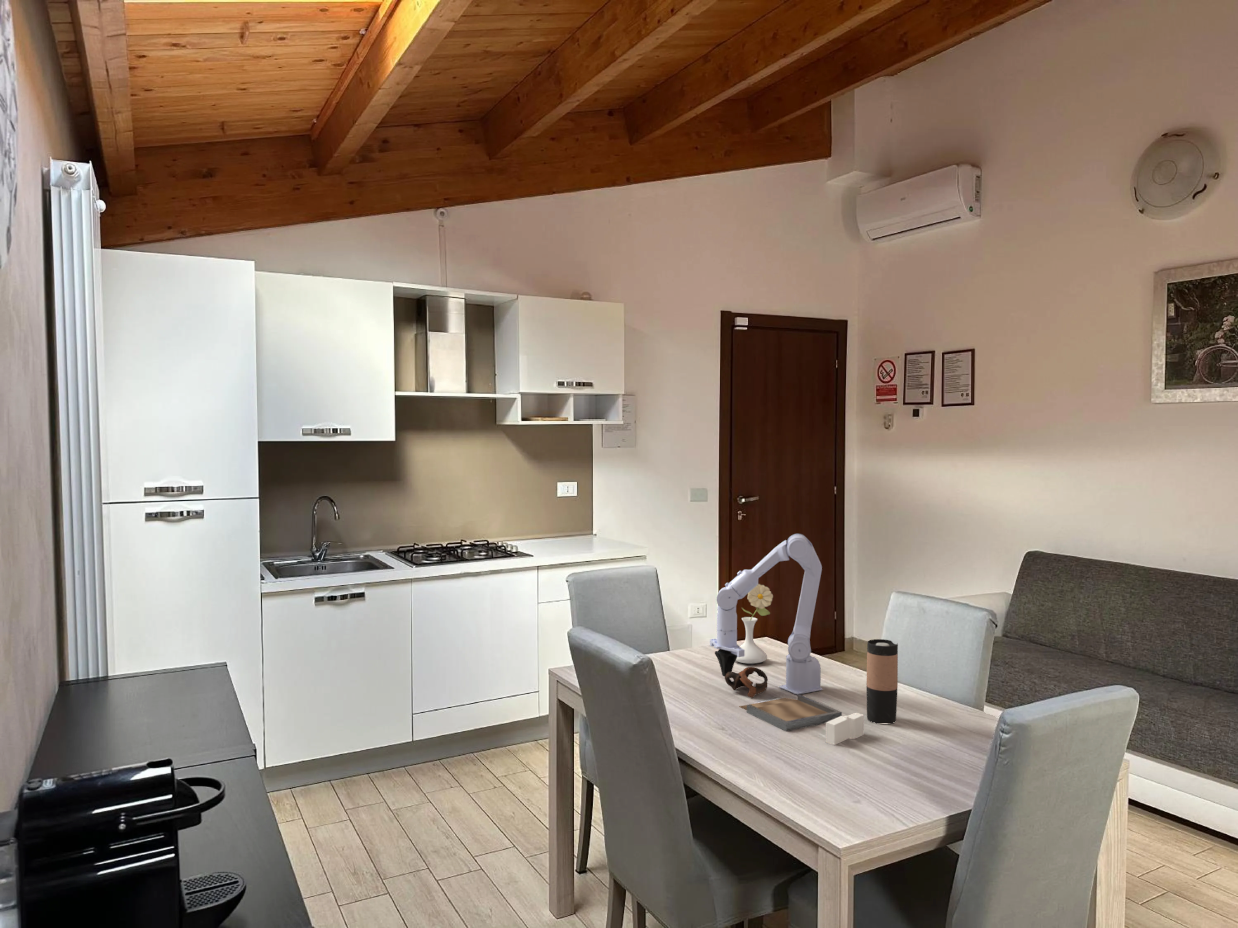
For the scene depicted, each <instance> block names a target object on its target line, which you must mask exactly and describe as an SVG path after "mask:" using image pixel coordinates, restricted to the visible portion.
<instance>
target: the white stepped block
mask: <svg viewBox="0 0 1238 928" xmlns="http://www.w3.org/2000/svg"><path fill="white" fill-rule="evenodd" d="M864 727H865V715H864V714H862V713H858V712H854V713H851V714H849V715H842V716H840V717H838V718H835V719H833V720H831V721H828V722H826V723H825V743H826V744H830V745H832V746H837V745H838V744H840V743H842V742H844V741H846V740H852V739H853V740H855V739H857V738H859V737H861V736H864V735H865V728H864ZM858 736H859V737H858Z"/></svg>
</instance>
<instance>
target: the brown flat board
mask: <svg viewBox="0 0 1238 928" xmlns="http://www.w3.org/2000/svg"><path fill="white" fill-rule="evenodd" d="M749 704H750V705H752V706H755V707H757V708H759V709H761V710H763V711H765V712H768V713H770V714H772V715H774V716H776V717H778V718H780V719H783V720H785V721H790V720H795V719H800V718H805V717H810V716H815V715H820V714H825V713H827V712H825V711H823V710H820V709H818V708H816V707H813V706H811V705H809V704H806V703H804V702H802V701H799V700H797V699H796V698H790V697H781V698H777V699H772V700H766V701H760V702H754V703H749ZM747 705H748V704H744V705H739V706H738V707H739V708H741V709H743V710H744V711H747Z"/></svg>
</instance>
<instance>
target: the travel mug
mask: <svg viewBox="0 0 1238 928" xmlns="http://www.w3.org/2000/svg"><path fill="white" fill-rule="evenodd" d="M866 644H867V648H866V649H867V651H866V653H867V654H866V682H865V684H866V686H865V688H866V690H865V691H866V718H867V720H868V721H869V722H871V721H872V722H871V723H873V722H875V723H874V724H877V723H893V722H895V721H896V720H897V707H898V706H897V705H898V689H899V687H898V683H899V682H898V681H899V680H898V678H899V677H898V676H899V675H898V674H899V673H898V672H899V671H898V670H899V668H898V661H899V660H898V658H899V656H898V653H899V652H898V651H899V644H898V642H897V643H895V642H893V641H892V640H890V639H884V638H883V639H880V638H879V639H878V638H876V639H870V640H867V643H866ZM895 723H896V722H895ZM893 724H894V723H893Z"/></svg>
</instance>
